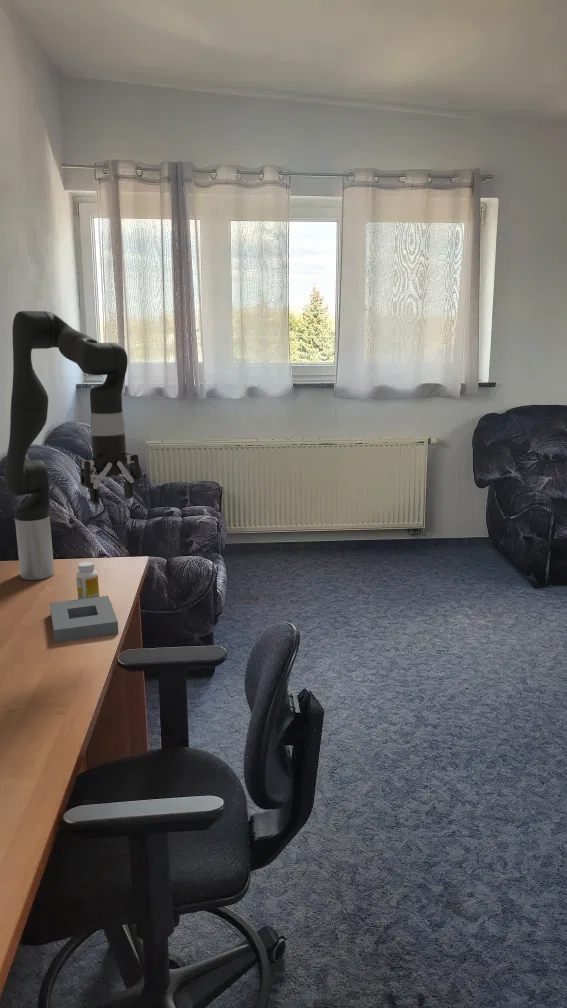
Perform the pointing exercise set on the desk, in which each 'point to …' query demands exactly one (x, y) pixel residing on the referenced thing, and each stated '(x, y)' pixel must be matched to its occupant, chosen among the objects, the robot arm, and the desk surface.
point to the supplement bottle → (87, 581)
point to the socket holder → (83, 619)
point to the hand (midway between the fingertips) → (112, 501)
